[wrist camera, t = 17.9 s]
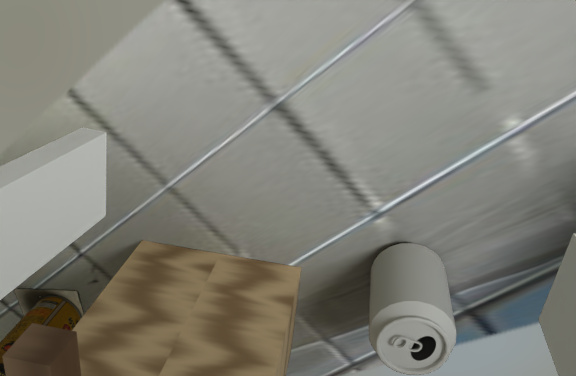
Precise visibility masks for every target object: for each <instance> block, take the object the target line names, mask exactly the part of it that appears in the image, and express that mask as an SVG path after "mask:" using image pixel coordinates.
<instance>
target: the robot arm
mask: <svg viewBox="0 0 576 376" xmlns="http://www.w3.org/2000/svg"><path fill="white" fill-rule="evenodd" d="M105 216H106V132H102V131H98V130H93V129H88V128H84V127H82V128H80V129H78V130H76V131H74V132H71V133H69V134H67V135H65V136H63V137H61V138H59V139H57V140H55V141H52V142H50V143H48V144H46V145H44V146H42V147H40V148H38V149H36V150H33V151H31V152H29V153H27V154H25V155H23V156H21V157H19V158H17V159H14V160H12V161H10V162H8V163H6V164H4V165H2V166H0V300H1V299H2V298H3V297H5V296H6V295H7V294H8V293H10V292H11V291H12V290H14V289H15V288H16V287H17V286H19V285H20V284H21V283H22V282H24V281H25V280H26V279H27V278H29V277H30V276H31V275H32V274H34V273H35V272H36V271H37V270H39V269H40V268H41V267H42V266H44V265H45V264H46V263H47V262H49V261H50V260H51V259H52V258H54V257H55V256H56V255H57V254H59V253H60V252H61V251H62V250H64V249H65V248H66V247H67V246H69V245H70V244H71V243H72V242H74V241H75V240H76V239H77V238H79V237H80V236H81V235H82V234H84V233H85V232H86V231H87V230H89V229H90V228H91V227H92V226H94V225H95V224H96V223H97V222H99V221H100V220H101V219H102V218H104V217H105ZM538 320H539V322H540V325H541V328H542V331H543V333H544V336H545V339H546V342H547V345H548V347H549V350H550V353H551V355H552V358H553V361H554V364H555V367H556V369H557V372H558V375H559V376H576V234H575V233H573V235H572V238H571V240H570V243H569V245H568V248H567V250H566V253H565V255H564V257H563V260H562V262H561V265H560V267H559V270H558V272H557V275H556V277H555V280H554V282H553V285H552V287H551V289H550V292H549V294H548V297H547V299H546V302H545V304H544V307H543V309H542V312H541V314H540V316H539V319H538Z"/></svg>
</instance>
